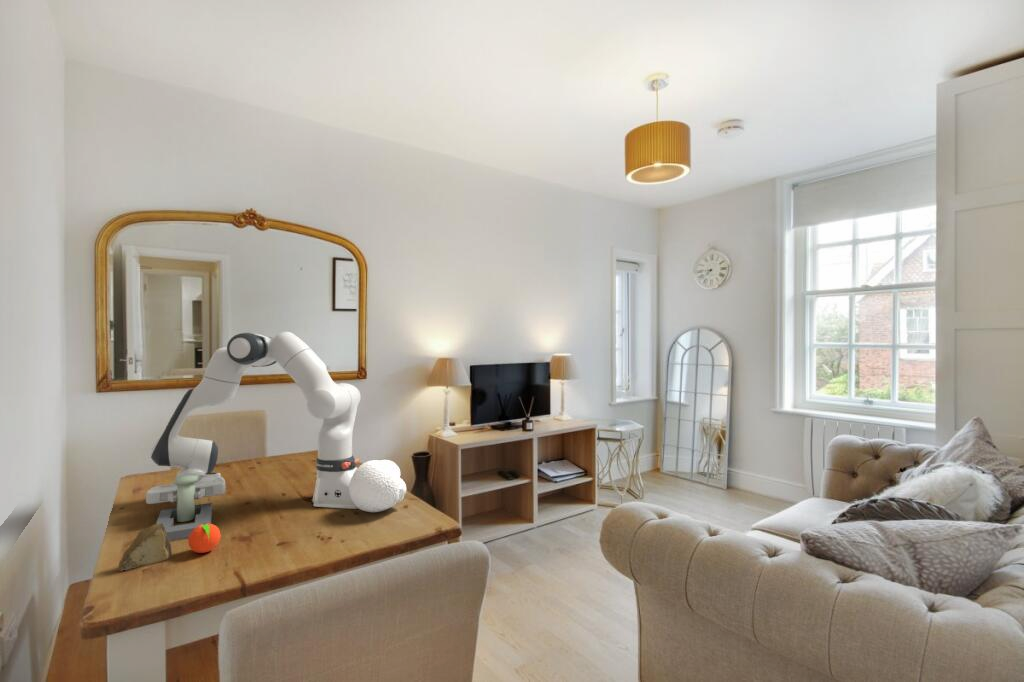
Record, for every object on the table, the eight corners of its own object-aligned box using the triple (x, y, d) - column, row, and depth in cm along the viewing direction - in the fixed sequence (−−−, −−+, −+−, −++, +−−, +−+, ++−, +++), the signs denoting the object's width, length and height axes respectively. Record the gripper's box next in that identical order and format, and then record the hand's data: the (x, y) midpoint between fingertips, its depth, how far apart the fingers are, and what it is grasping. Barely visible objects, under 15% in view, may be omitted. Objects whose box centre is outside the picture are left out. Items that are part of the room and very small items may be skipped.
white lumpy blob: (331, 517, 145) (332, 464, 145) (360, 498, 163) (361, 451, 162) (393, 523, 142) (394, 469, 141) (415, 502, 159) (416, 455, 159)
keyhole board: (161, 517, 144) (161, 509, 144) (212, 510, 151) (212, 502, 151) (151, 544, 125) (151, 534, 125) (210, 534, 132) (210, 525, 132)
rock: (108, 568, 107) (159, 556, 110) (113, 532, 111) (162, 521, 115) (127, 579, 115) (174, 567, 118) (131, 544, 119) (176, 534, 123)
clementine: (224, 553, 120) (225, 525, 120) (192, 562, 115) (192, 532, 115) (216, 543, 126) (217, 516, 126) (185, 551, 121) (185, 523, 121)
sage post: (202, 517, 144) (202, 475, 144) (183, 523, 138) (183, 480, 138) (188, 514, 146) (188, 473, 146) (169, 521, 140) (169, 478, 140)
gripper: (148, 480, 148) (141, 492, 136) (225, 471, 158) (225, 482, 146) (148, 501, 148) (141, 514, 136) (225, 491, 158) (225, 503, 146)
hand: (185, 498), depth 141 cm, fingers closed on sage post, 4 cm apart
